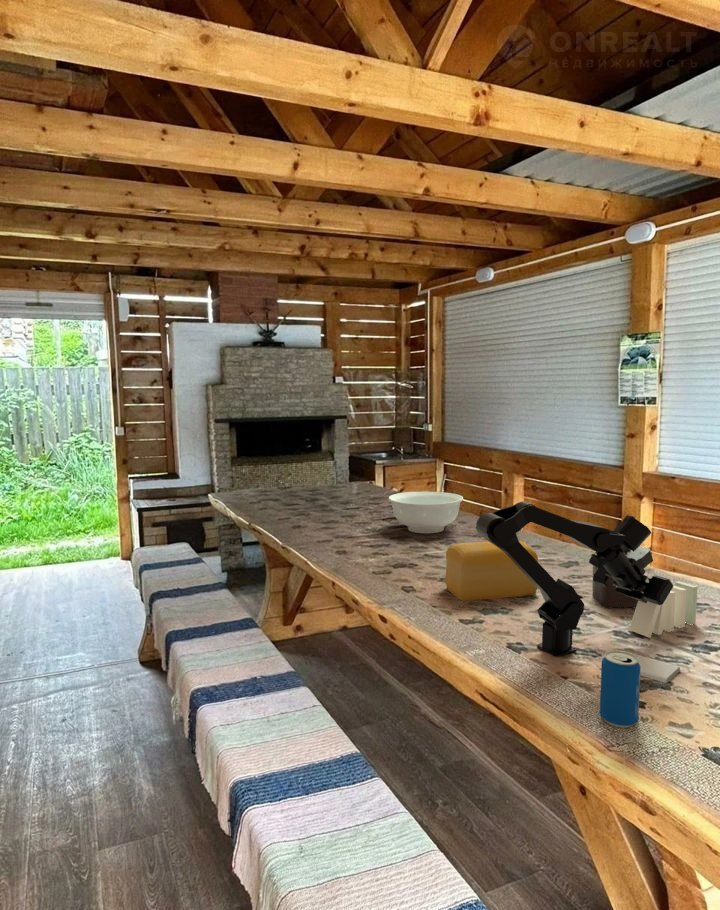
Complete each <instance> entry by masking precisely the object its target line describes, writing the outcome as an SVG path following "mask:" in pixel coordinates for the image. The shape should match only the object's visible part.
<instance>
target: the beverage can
mask: <svg viewBox="0 0 720 910" xmlns="http://www.w3.org/2000/svg"><path fill="white" fill-rule="evenodd" d="M622 651H623V650H622ZM622 651H621V650H609V651H606V652H605V653H604V654H603V655H604V657H603V658H602V659H601V666H600V667H601V670H600V694H599V695H600V699H599V715H600V717H601V719H603V720H604V721H605V722H606V723H607V724H608V725H610V726H613V727H616V728H621V729H626V728H631V727H632V726H634V725H636V724H638V723H639V709H640V689H641V688H640V687H641V675H640V664H639V663H638V658H637V657H636V656H634V655H632V654H630V653H631V652H629V653H627V652H628V651H626V652H622Z"/></svg>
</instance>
